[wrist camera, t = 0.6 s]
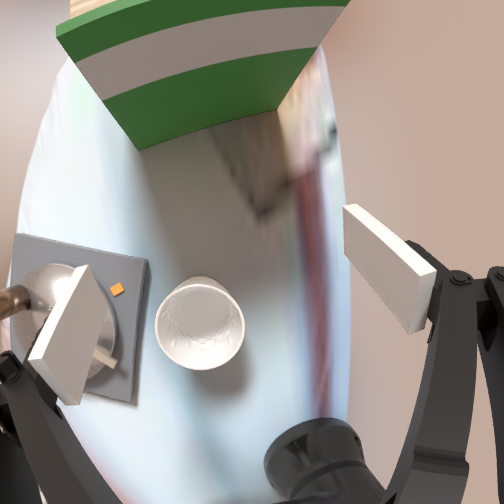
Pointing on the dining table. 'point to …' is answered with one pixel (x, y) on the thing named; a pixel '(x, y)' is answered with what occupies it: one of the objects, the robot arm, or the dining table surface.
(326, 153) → the dining table surface
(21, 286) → the capstan dial
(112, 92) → the hardback book
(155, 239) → the dining table surface
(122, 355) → the dial base
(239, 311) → the white cup
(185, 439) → the dining table surface
